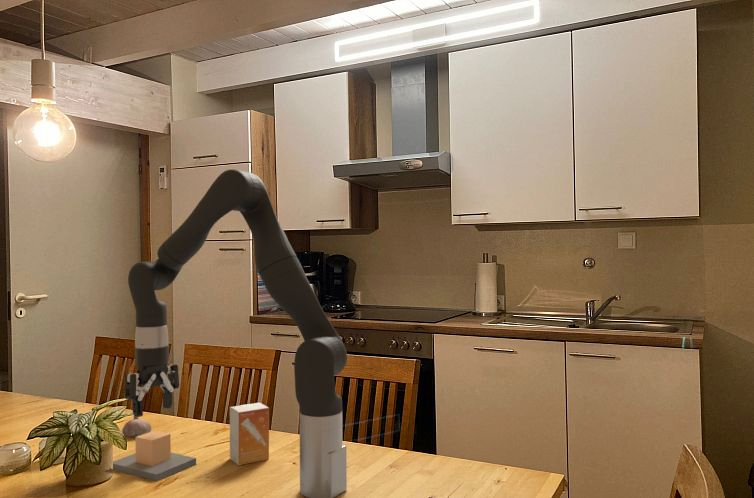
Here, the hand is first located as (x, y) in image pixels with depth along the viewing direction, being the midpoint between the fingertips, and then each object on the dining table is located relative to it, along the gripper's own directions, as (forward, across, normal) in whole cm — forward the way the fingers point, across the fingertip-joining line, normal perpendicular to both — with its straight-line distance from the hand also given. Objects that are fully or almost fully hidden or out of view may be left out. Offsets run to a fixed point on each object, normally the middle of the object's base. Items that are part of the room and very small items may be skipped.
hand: (153, 411), depth 147 cm
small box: (+14, +15, -17) cm, 26 cm away
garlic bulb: (+13, +15, +24) cm, 31 cm away
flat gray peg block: (+13, 0, 0) cm, 13 cm away
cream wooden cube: (+12, 0, 0) cm, 12 cm away
